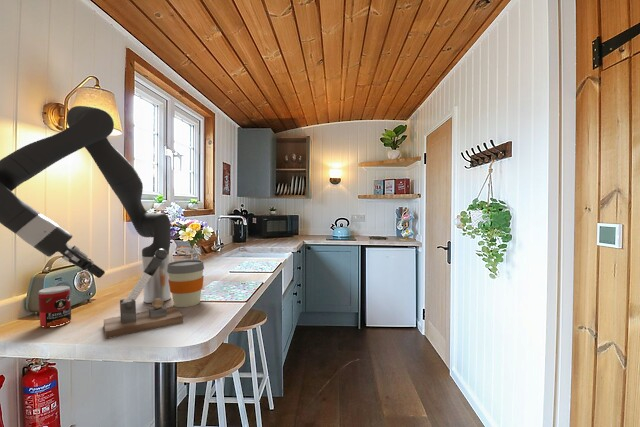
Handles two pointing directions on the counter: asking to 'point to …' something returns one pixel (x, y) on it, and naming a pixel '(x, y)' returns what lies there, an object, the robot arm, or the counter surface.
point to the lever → (147, 274)
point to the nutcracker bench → (141, 318)
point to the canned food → (54, 306)
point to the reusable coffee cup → (186, 282)
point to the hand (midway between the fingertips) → (102, 275)
